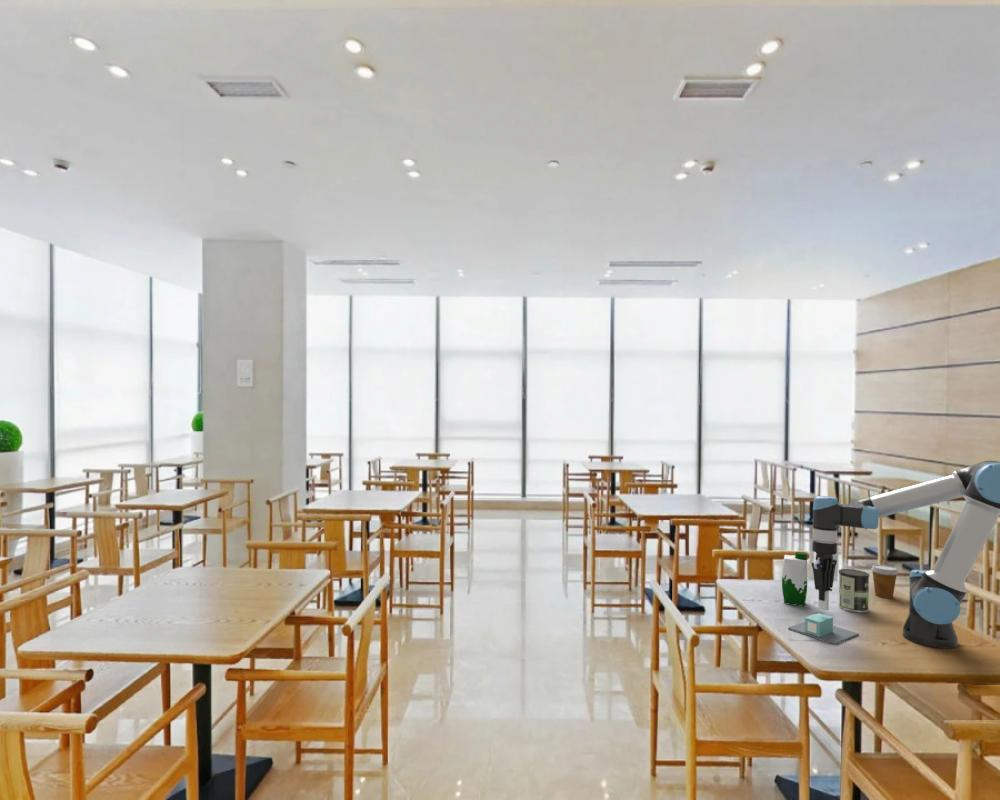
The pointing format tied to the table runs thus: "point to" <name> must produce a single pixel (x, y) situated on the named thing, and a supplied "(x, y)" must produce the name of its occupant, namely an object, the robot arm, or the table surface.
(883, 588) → the disposable coffee cup
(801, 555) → the milk carton
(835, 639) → the mat
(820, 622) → the block
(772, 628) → the table surface
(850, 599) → the coffee can
